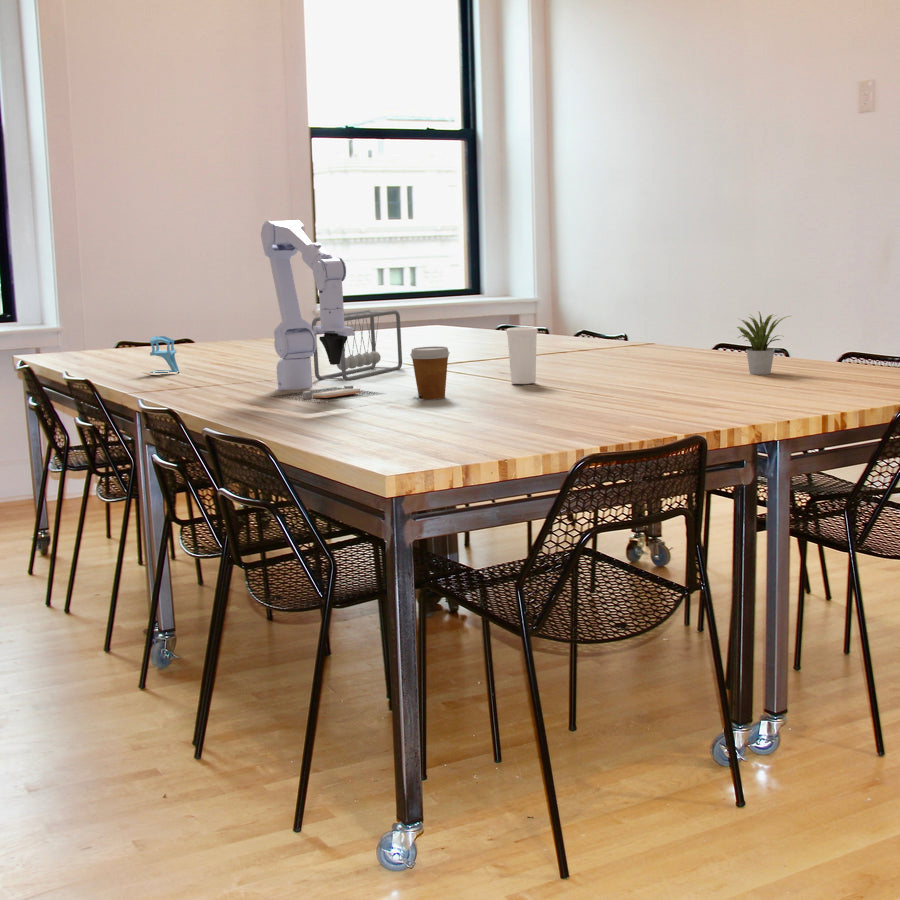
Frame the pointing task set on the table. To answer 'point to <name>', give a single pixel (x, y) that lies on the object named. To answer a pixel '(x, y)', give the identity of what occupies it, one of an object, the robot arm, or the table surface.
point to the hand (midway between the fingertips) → (335, 364)
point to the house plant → (759, 345)
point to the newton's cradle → (364, 358)
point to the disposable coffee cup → (430, 371)
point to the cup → (522, 354)
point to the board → (309, 393)
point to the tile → (335, 393)
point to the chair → (164, 352)
